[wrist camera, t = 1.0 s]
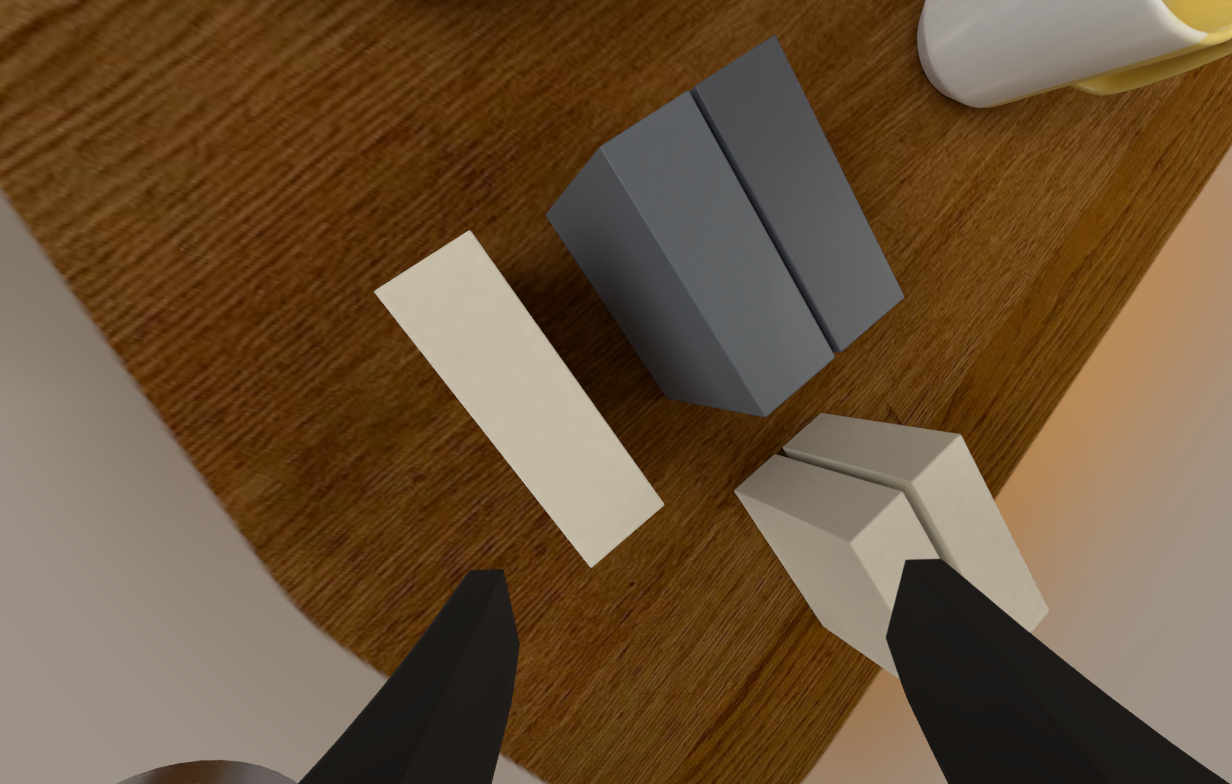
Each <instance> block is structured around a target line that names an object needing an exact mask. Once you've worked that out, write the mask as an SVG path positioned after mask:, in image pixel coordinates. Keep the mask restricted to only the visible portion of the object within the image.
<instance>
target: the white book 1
mask: <svg viewBox="0 0 1232 784" xmlns="http://www.w3.org/2000/svg"><path fill="white" fill-rule="evenodd" d="M375 294H376V295H377V296H378V298H379V299H380V300H381V301H382V303H383V304H384V305H385V306H386V308H387V309H388V310H389V312H390V313H391V314H392V315H393V317H394V318H395V319H396V320H397V322H398V323H399V324H400V326H401V327H402V328H403V329H404V331H405V332H406V333H407V334H408V336H409V337H410V338H411V340H412V341H413V342H414V343H415V345H416V346H417V347H418V349H419V350H420V351H421V352H422V354H423V355H424V356H425V357H426V359H427V360H428V361H429V363H430V364H431V365H432V366H433V368H434V369H435V370H436V371H437V373H438V374H439V375H440V377H441V378H442V379H443V380H444V382H445V383H446V384H447V385H448V387H449V388H450V389H451V391H452V392H453V393H454V394H455V396H456V397H457V398H458V399H459V401H460V402H461V403H462V405H463V406H464V407H465V408H466V410H467V411H468V412H469V413H470V415H471V416H472V417H473V419H474V420H475V421H476V422H477V424H478V425H479V426H480V427H481V429H482V430H483V431H484V433H485V434H486V435H487V436H488V438H489V439H490V440H491V441H492V443H493V444H494V445H495V447H496V448H497V449H498V450H499V452H500V453H501V454H502V456H503V457H504V458H505V459H506V461H507V462H508V463H509V464H510V466H511V467H512V468H513V470H514V471H515V472H516V473H517V475H518V476H519V477H520V478H521V480H522V481H523V482H524V484H525V485H526V486H527V487H528V489H529V490H530V491H531V492H532V494H533V495H534V496H535V498H536V499H537V500H538V501H539V503H540V504H541V505H542V506H543V508H544V509H545V510H546V512H547V513H548V514H549V515H550V517H551V518H552V519H553V520H554V522H555V523H556V524H557V526H558V527H559V528H560V529H561V531H562V532H563V533H564V534H565V536H566V537H567V538H568V540H569V541H570V542H571V543H572V545H573V546H574V547H575V549H576V550H577V551H578V552H579V554H580V555H581V556H582V557H583V559H584V560H585V561H586V563H587V564H588V565H589V566H590V567H593V566H594V565H595V564H596V563H598V562H599V561H600V560H601V559H602V558H603V557H605V556H606V555H607V554H608V553H609V552H610V551H612V550H613V549H614V548H615V547H616V546H617V545H619V544H620V543H621V542H622V541H623V540H624V539H625V538H627V537H628V536H629V535H630V534H631V533H632V532H634V531H635V530H636V529H637V528H638V527H639V526H641V525H642V524H643V523H644V522H645V521H646V520H647V519H649V518H650V517H651V516H652V515H653V514H654V513H656V512H657V511H658V510H659V509H660V508H661V507H663V506H664V503H663V502H662V500H661V499H660V497H659V496H658V495H657V493H656V492H655V490H654V489H653V488H652V486H651V485H650V483H649V482H648V480H647V479H646V478H645V476H644V475H643V473H642V472H641V471H640V469H639V468H638V466H637V465H636V464H635V462H634V461H633V459H632V458H631V456H630V455H629V454H628V452H627V451H626V449H625V448H624V447H623V445H622V444H621V442H620V441H619V440H618V438H617V437H616V435H615V434H614V432H613V431H612V430H611V428H610V427H609V425H608V424H607V423H606V421H605V420H604V418H603V417H602V416H601V414H600V413H599V411H598V410H597V408H596V407H595V406H594V404H593V403H592V401H591V400H590V399H589V397H588V396H587V394H586V393H585V392H584V390H583V389H582V387H581V386H580V384H579V383H578V382H577V380H576V379H575V377H574V376H573V375H572V373H571V372H570V370H569V369H568V367H567V366H566V365H565V363H564V362H563V360H562V359H561V358H560V356H559V355H558V353H557V352H556V351H555V349H554V348H553V346H552V345H551V343H550V342H549V341H548V339H547V338H546V336H545V335H544V334H543V332H542V331H541V329H540V328H539V327H538V325H537V324H536V322H535V321H534V319H533V318H532V317H531V315H530V314H529V312H528V311H527V310H526V308H525V307H524V305H523V304H522V303H521V301H520V300H519V298H518V297H517V295H516V294H515V293H514V291H513V290H512V288H511V287H510V286H509V284H508V283H507V281H506V280H505V279H504V277H503V276H502V274H501V273H500V271H499V270H498V269H497V267H496V266H495V264H494V263H493V262H492V260H491V259H490V257H489V256H488V255H487V253H486V252H485V250H484V249H483V247H482V246H481V245H480V243H479V242H478V240H477V239H476V238H475V236H474V235H473V233H472V232H471V231H467V232H466V233H464V234H462V235H461V236H459V237H458V238H456V239H455V240H453V241H452V242H450V243H448V244H447V245H445V246H444V247H442V248H441V249H439V250H438V251H436V252H434V253H433V254H431V255H430V256H428V257H427V258H425V259H423V260H422V261H420V262H419V263H417V264H416V265H414V266H413V267H411V268H409V269H408V270H406V271H405V272H403V273H402V274H400V275H398V276H397V277H395V278H394V279H392V280H391V281H389V282H388V283H386V284H384V285H383V286H381V287H380V288H378V289H377V290H375Z"/></svg>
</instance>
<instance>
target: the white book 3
mask: <svg viewBox="0 0 1232 784" xmlns="http://www.w3.org/2000/svg"><path fill="white" fill-rule="evenodd" d="M783 450H784V451H785V453H786V454H787V456H788V458H790V459H794V460H797V461H801V462H804V463H807V464H811V465H814V466H818V467H821V468H824V469H828V470H831V471H835V472H838V473H841V474H845V475H848V476H852V477H855V478H858V479H862V480H865V481H869V482H872V483H875V484H879V485H882V486H886V487H889V488H892V489H896V490H899V491H902V492H903V493H904V495H905V497H906V498H907V500H908V502H909V504H910V506H911V507H912V509H913V511H914V513H915V515H916V516H917V518H918V520H919V522H920V524H921V525H922V527H923V529H924V531H925V533H926V534H927V536H928V538H929V540H930V542H931V543H932V545H933V547H934V549H935V551H936V553H937V554H938V556H939V558H940V559H942V560H943V561H945V562H946V563H947V564H948V565H950V566H951V567H952V568H953V569H955V570H956V571H957V572H958V573H959V574H961V575H962V576H963V577H964V578H965V579H967V580H968V581H969V582H970V583H971V584H973V585H974V586H975V587H976V588H977V589H978V590H980V591H981V592H982V593H983V594H984V595H986V596H987V597H988V598H989V599H990V600H991V601H993V602H994V603H995V604H996V605H997V606H999V607H1000V608H1001V609H1002V610H1003V611H1005V612H1006V613H1007V614H1008V615H1009V616H1011V617H1012V618H1013V619H1014V620H1015V621H1017V622H1018V623H1019V624H1020V625H1021V626H1023V627H1024V628H1025V629H1026V630H1027V631H1029V632H1030V633H1031V632H1032V631H1033V630H1034V628H1035V627H1036V626H1037V625H1038V624H1039V623H1040V621H1041V620H1042V619H1043V618H1044V617H1045V616H1046V614H1047V613H1048V612H1049V609H1048V607H1047V605H1046V603H1045V601H1044V599H1043V598H1042V596H1041V593H1040V591H1039V589H1038V588H1037V585H1036V583H1035V581H1034V580H1033V577H1032V576H1031V573H1030V571H1029V569H1028V567H1027V565H1026V563H1025V561H1024V559H1023V557H1022V556H1021V554H1020V551H1019V550H1018V547H1017V546H1016V544H1015V542H1014V540H1013V538H1012V536H1011V534H1010V532H1009V530H1008V528H1007V526H1006V524H1005V522H1004V520H1003V518H1002V516H1001V514H1000V512H999V510H998V508H997V506H996V504H995V502H994V500H993V498H992V496H991V494H990V492H989V490H988V488H987V486H986V484H985V482H984V480H983V478H982V476H981V474H980V472H979V470H978V468H977V466H976V464H975V462H974V460H973V458H972V456H971V454H970V452H969V450H968V448H967V446H966V444H965V442H964V440H963V438H962V436H961V435H960V434H956V433H949V432H943V431H936V430H930V429H923V428H917V427H910V426H904V425H897V424H890V423H884V422H877V421H871V420H864V419H858V418H851V417H845V416H838V415H832V414H825V413H820V414H819V415H818V416H817V417H816V418H815V419H814V420H812V421H811V422H810V423H809V424H808V425H807V426H806V427H805V428H803V429H802V430H801V431H800V432H799V433H798V434H797V435H796V436H794V437H793V438H792V439H791V440H790V441H789V442H788V443H787V444H785V445H784V446H783Z"/></svg>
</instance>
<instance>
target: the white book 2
mask: <svg viewBox="0 0 1232 784" xmlns="http://www.w3.org/2000/svg"><path fill="white" fill-rule="evenodd" d="M734 492H735V493H736V495H737V496H738V498H739V499H740V501H741V502H742V504H743V505H744V507H745V508H746V510H747V511H748V513H749V514H750V516H751V518H752V519H753V521H754V522H755V524H756V525H757V527H758V528H759V530H760V531H761V533H762V534H763V536H764V537H765V539H766V540H767V542H768V543H769V545H770V546H771V548H772V549H773V551H774V552H775V554H776V555H777V557H778V558H779V560H780V562H781V563H782V565H783V566H784V568H785V569H786V571H787V572H788V574H789V575H790V577H791V578H792V580H793V581H794V583H795V584H796V586H797V587H798V589H799V590H800V592H801V593H802V595H803V596H804V598H805V599H806V601H807V602H808V604H809V606H810V607H811V609H812V610H813V612H814V613H815V615H816V616H817V618H818V619H819V621H820V622H821V624H822V625H823V626H824V627H825V628H827V629H828V630H829V631H831V632H832V633H834V634H835V635H837V636H838V637H839V638H841V639H842V640H844V641H845V642H847V643H848V644H849V645H851V646H852V647H854V648H855V649H857V650H858V651H859V652H861V653H862V654H864V655H865V656H867V657H868V658H869V659H871V660H872V661H874V662H875V663H877V664H878V665H880V666H881V667H882V668H884V669H885V670H887V671H888V672H890V673H891V674H893V675H894V676H895V677H897V678H898V679H900V678H899V675H898V673H897V670H896V667H895V664H894V661H893V658H892V655H891V652H890V649H889V646H888V644H887V641H886V634H887V630H888V626H889V622H890V618H891V614H892V610H893V607H894V603H895V599H896V595H897V591H898V587H899V583H900V579H901V575H902V571H903V567H904V563H905V560H907V559H940V558H939V556H938V554H937V553H936V551H935V549H934V547H933V545H932V543H931V542H930V540H929V538H928V536H927V534H926V533H925V531H924V529H923V527H922V525H921V524H920V522H919V520H918V518H917V516H916V515H915V513H914V511H913V509H912V507H911V506H910V504H909V502H908V500H907V498H906V497H905V495H904V493H903V492H902V491H899V490H896V489H892V488H889V487H886V486H882V485H879V484H875V483H872V482H869V481H865V480H862V479H858V478H855V477H852V476H848V475H845V474H841V473H838V472H835V471H831V470H828V469H824V468H821V467H818V466H814V465H811V464H807V463H804V462H801V461H797V460H794V459H790V458H787V457H784V456H780V455H777V454H774V455H773V456H772V457H771V458H770V459H769V460H767V461H766V462H765V463H764V464H763V465H762V466H761V467H760V468H758V469H757V470H756V471H755V472H754V473H753V474H752V475H751V476H749V477H748V478H747V479H746V480H745V481H744V482H743V483H742V484H740V485H739V486H738V487H737V488H736V489H735V490H734Z"/></svg>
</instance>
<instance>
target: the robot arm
mask: <svg viewBox="0 0 1232 784" xmlns="http://www.w3.org/2000/svg"><path fill="white" fill-rule="evenodd" d="M886 641H887V644H888V646H889V649H890V652H891V655H892V658H893V661H894V664H895V667H896V670H897V673H898V675H899V678H900V681H901V684H902V686H903V689H904V692H905V694H906V697H907V699H908V702H909V704H910V706H911V708H912V710H913V712H914V714H915V716H916V718H917V720H918V723H919V725H920V727H921V729H922V731H923V733H924V735H925V737H926V739H927V741H928V743H929V746H930V748H931V750H932V752H933V754H934V756H935V758H936V760H937V762H938V764H939V766H940V768H941V770H942V772H943V774H944V776H945V778H946V780H947V782H948V784H1229V783H1228V782H1226V781H1225V780H1224V779H1222V778H1221V777H1219V776H1218V775H1216V774H1215V773H1213V772H1212V771H1210V770H1209V769H1207V768H1206V767H1204V766H1203V765H1201V764H1200V763H1199V762H1198V761H1196V760H1195V759H1193V758H1192V757H1191V756H1189V755H1188V754H1186V753H1185V752H1183V751H1182V750H1181V749H1179V748H1178V747H1177V746H1175V745H1174V744H1172V743H1171V742H1170V741H1168V740H1167V739H1166V738H1164V737H1163V736H1162V735H1160V734H1159V733H1158V732H1156V731H1155V730H1154V729H1152V728H1151V727H1149V726H1148V725H1147V724H1145V723H1144V722H1143V721H1142V720H1140V719H1139V718H1138V717H1136V716H1135V715H1134V714H1132V713H1131V712H1129V711H1128V710H1127V709H1126V708H1124V707H1123V706H1121V705H1120V704H1119V703H1118V702H1116V701H1115V700H1114V699H1112V698H1111V697H1110V696H1108V695H1107V694H1106V693H1105V692H1103V691H1102V690H1101V689H1099V688H1098V687H1097V686H1096V685H1094V684H1093V683H1091V682H1090V681H1089V680H1088V679H1086V678H1085V677H1084V676H1083V675H1082V674H1080V673H1079V672H1078V671H1077V670H1075V669H1074V668H1073V667H1071V666H1070V665H1069V664H1068V663H1066V662H1065V661H1064V660H1063V659H1062V658H1060V657H1059V656H1058V655H1057V654H1055V653H1054V652H1053V651H1052V650H1050V649H1049V648H1048V647H1047V646H1045V645H1044V644H1043V643H1042V642H1041V641H1039V640H1038V639H1037V638H1036V637H1034V636H1033V635H1032V634H1031V633H1030V632H1029V631H1027V630H1026V629H1025V628H1024V627H1023V626H1021V625H1020V624H1019V623H1018V622H1017V621H1015V620H1014V619H1013V618H1012V617H1011V616H1009V615H1008V614H1007V613H1006V612H1005V611H1003V610H1002V609H1001V608H1000V607H999V606H997V605H996V604H995V603H994V602H993V601H991V600H990V599H989V598H988V597H987V596H986V595H984V594H983V593H982V592H981V591H980V590H978V589H977V588H976V587H975V586H974V585H973V584H971V583H970V582H969V581H968V580H967V579H965V578H964V577H963V576H962V575H961V574H959V573H958V572H957V571H956V570H955V569H953V568H952V567H951V566H950V565H948V564H947V563H946V562H945V561H943V560H942V559H907V560H905V563H904V567H903V571H902V575H901V579H900V583H899V587H898V591H897V595H896V599H895V603H894V607H893V610H892V614H891V618H890V622H889V626H888V630H887V634H886ZM519 646H520V643H519V638H518V634H517V629H516V625H515V620H514V616H513V611H512V606H511V602H510V597H509V593H508V588H507V584H506V579H505V575H504V570H503V569H499V570H471V571H470V572H469V573H468V574H467V575H466V576H465V577H464V579H463V580H462V581H461V583H460V584H459V586H458V587H457V588H456V590H455V591H454V593H453V594H452V596H451V597H450V598H449V600H448V601H447V603H446V604H445V605H444V607H443V608H442V610H441V611H440V612H439V614H438V615H437V616H436V618H435V619H434V620H433V622H432V623H431V625H430V626H429V627H428V629H427V630H426V631H425V633H424V634H423V635H422V637H421V638H420V639H419V641H418V642H417V643H416V645H415V646H414V647H413V648H412V650H411V651H410V652H409V654H408V655H407V656H406V657H405V659H404V660H403V661H402V663H401V664H400V665H399V667H398V668H397V669H396V670H395V672H394V673H393V674H392V676H391V677H390V678H389V679H388V681H387V682H386V683H385V684H384V686H383V687H382V688H381V689H380V690H379V692H378V693H377V694H376V695H375V696H374V698H373V699H372V700H371V701H370V703H369V704H368V705H367V706H366V707H365V708H364V709H363V711H362V712H361V713H360V714H359V715H358V717H357V718H356V719H355V720H354V721H353V723H352V724H351V725H350V726H349V727H348V729H347V730H346V731H345V732H344V733H343V734H342V736H341V737H340V738H339V739H338V740H337V741H336V742H335V744H334V745H333V746H332V747H331V748H330V749H329V750H328V751H327V753H326V754H325V755H324V756H323V757H322V758H321V759H320V760H319V761H318V762H317V764H316V765H315V766H314V767H313V768H312V769H311V770H310V771H309V773H307V774H306V775H305V777H304V778H303V779H302V780H301V781H300V782H299V783H298V784H492V780H493V776H494V772H495V768H496V764H497V760H498V756H499V752H500V748H501V744H502V740H503V736H504V731H505V727H506V723H507V719H508V715H509V711H510V707H511V702H512V696H513V689H514V682H515V676H516V668H517V661H518V653H519Z"/></svg>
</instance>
